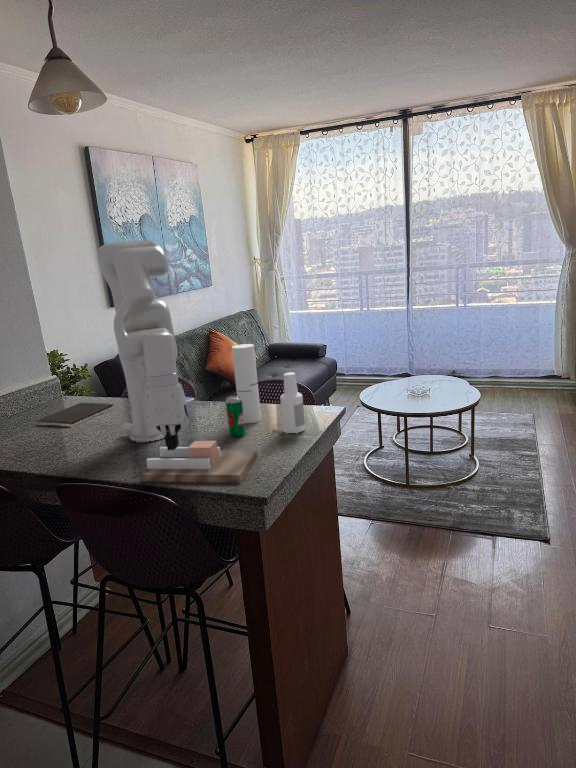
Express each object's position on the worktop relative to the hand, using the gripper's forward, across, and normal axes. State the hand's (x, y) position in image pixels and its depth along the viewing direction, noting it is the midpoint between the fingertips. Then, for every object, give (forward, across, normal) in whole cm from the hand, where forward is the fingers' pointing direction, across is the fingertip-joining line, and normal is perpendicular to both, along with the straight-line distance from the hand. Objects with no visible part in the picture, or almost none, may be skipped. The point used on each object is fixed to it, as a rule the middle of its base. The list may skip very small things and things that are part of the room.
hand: (172, 448), depth 144 cm
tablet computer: (+5, -32, +67) cm, 74 cm away
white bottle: (+6, +26, +31) cm, 41 cm away
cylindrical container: (+6, +9, +42) cm, 43 cm away
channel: (+4, +2, +1) cm, 5 cm away
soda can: (+6, +9, +27) cm, 29 cm away
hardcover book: (+5, -60, +49) cm, 78 cm away
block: (+4, +8, +1) cm, 9 cm away
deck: (+6, +7, +1) cm, 9 cm away
